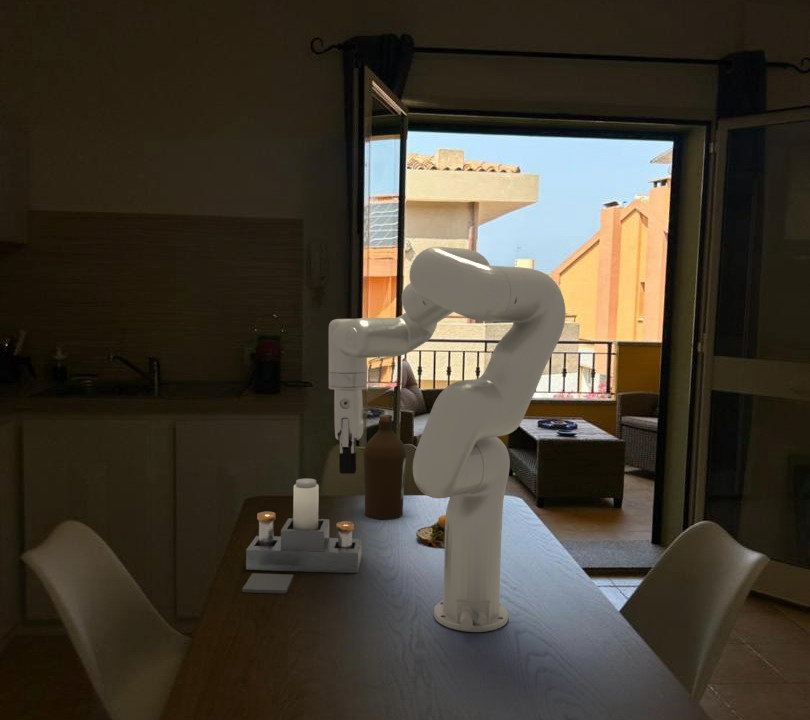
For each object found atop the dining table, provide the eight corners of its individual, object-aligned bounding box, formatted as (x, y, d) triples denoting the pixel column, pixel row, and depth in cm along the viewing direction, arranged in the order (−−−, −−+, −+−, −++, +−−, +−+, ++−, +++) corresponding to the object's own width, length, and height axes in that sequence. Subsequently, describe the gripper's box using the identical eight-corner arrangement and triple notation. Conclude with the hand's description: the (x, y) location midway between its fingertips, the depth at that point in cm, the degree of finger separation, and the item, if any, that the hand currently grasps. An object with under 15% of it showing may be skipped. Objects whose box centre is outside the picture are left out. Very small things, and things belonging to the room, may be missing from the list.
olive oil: (366, 521, 185) (368, 419, 183) (359, 509, 196) (360, 412, 194) (409, 519, 188) (411, 418, 186) (399, 507, 198) (401, 411, 196)
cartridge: (316, 548, 152) (316, 484, 151) (291, 547, 152) (291, 483, 151) (319, 540, 157) (320, 478, 156) (295, 539, 157) (295, 477, 156)
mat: (286, 593, 139) (286, 590, 139) (242, 592, 139) (242, 589, 139) (293, 577, 147) (293, 574, 147) (252, 576, 147) (252, 573, 147)
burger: (448, 530, 181) (449, 499, 180) (479, 544, 171) (480, 511, 170) (405, 537, 174) (406, 505, 174) (434, 552, 164) (435, 518, 164)
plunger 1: (273, 555, 153) (273, 516, 153) (255, 555, 153) (255, 516, 153) (276, 550, 157) (276, 511, 156) (259, 549, 157) (259, 511, 156)
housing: (361, 557, 159) (362, 519, 159) (357, 573, 150) (358, 533, 150) (256, 554, 160) (256, 516, 159) (246, 569, 151) (246, 529, 150)
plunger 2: (352, 566, 153) (353, 526, 152) (334, 565, 153) (335, 526, 153) (354, 559, 157) (355, 521, 156) (336, 559, 157) (337, 521, 156)
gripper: (363, 384, 144) (363, 481, 146) (369, 378, 159) (369, 465, 160) (323, 384, 145) (324, 480, 146) (333, 377, 160) (333, 465, 161)
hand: (347, 472), depth 153 cm, fingers closed
